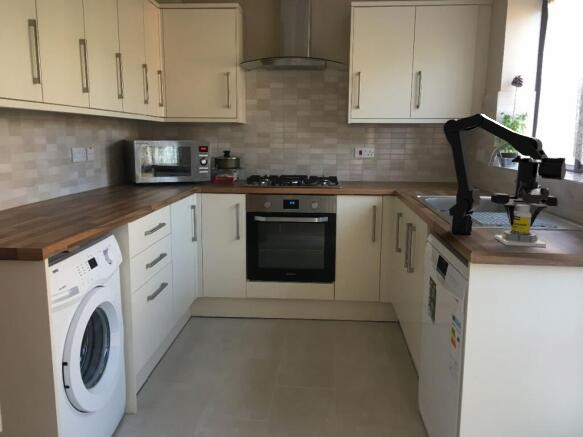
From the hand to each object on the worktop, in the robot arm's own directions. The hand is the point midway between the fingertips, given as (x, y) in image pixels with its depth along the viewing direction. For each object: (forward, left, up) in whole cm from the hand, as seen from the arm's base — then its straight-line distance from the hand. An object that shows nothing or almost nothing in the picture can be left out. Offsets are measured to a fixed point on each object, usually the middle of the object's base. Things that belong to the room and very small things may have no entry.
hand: (520, 226), depth 151 cm
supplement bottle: (0, 0, -3) cm, 3 cm away
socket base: (0, 0, -5) cm, 5 cm away
